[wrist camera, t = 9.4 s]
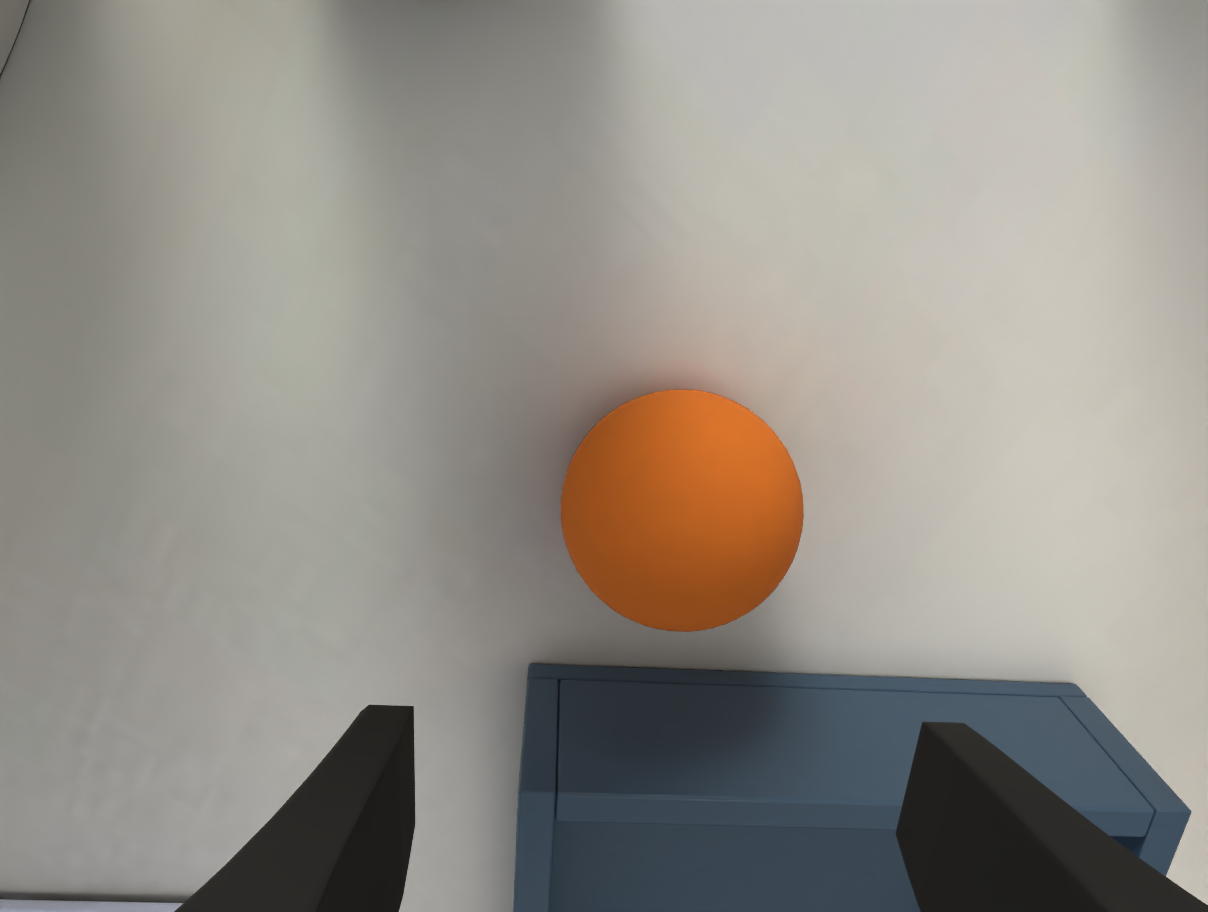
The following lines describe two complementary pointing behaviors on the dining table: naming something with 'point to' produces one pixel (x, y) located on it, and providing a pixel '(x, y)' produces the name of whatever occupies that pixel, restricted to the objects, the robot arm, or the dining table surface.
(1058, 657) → the dining table surface
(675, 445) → the ball
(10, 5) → the lumpy-topped squat cylinder
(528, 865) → the tray
